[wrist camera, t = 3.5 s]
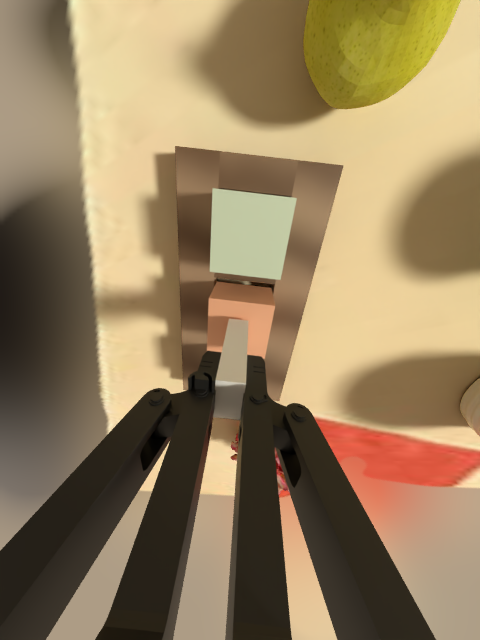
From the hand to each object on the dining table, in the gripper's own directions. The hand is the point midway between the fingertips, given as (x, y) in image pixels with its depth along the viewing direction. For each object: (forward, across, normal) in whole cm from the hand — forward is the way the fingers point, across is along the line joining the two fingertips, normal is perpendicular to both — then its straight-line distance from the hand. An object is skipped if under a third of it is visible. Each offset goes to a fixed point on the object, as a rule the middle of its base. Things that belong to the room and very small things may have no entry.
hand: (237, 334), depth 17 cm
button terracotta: (+5, 0, 0) cm, 5 cm away
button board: (+7, 0, 0) cm, 7 cm away
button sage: (+4, 0, +7) cm, 8 cm away
